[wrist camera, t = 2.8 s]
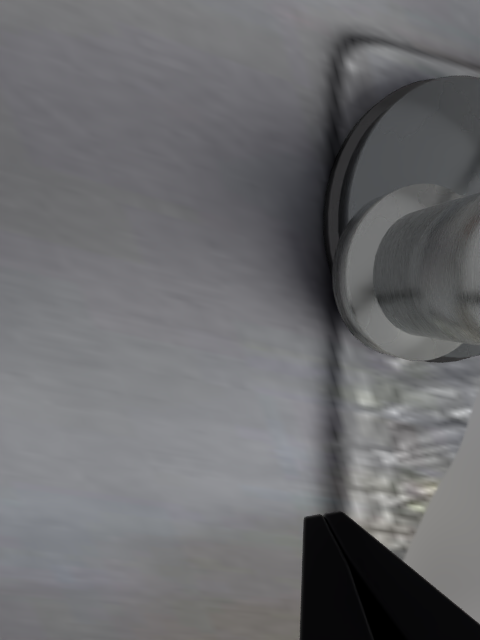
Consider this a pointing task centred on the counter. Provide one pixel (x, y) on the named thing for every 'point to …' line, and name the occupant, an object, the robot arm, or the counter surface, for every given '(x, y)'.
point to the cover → (411, 272)
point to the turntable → (408, 155)
